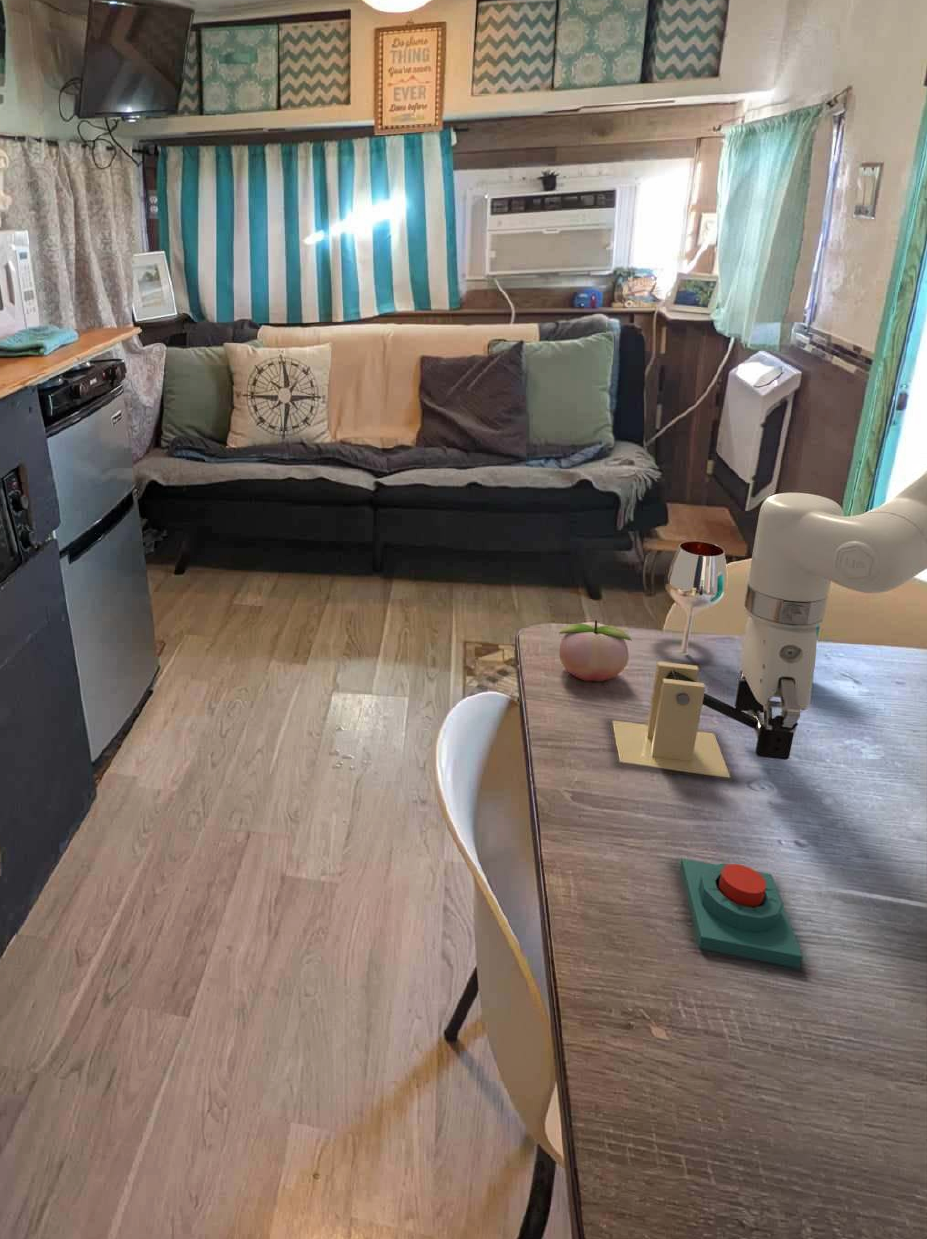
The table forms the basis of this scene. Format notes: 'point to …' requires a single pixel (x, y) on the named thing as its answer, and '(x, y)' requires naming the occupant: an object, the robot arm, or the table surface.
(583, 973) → the table surface
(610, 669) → the decorative fruit
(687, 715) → the bracket
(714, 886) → the control block
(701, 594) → the wineglass
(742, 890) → the button
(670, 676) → the lever
